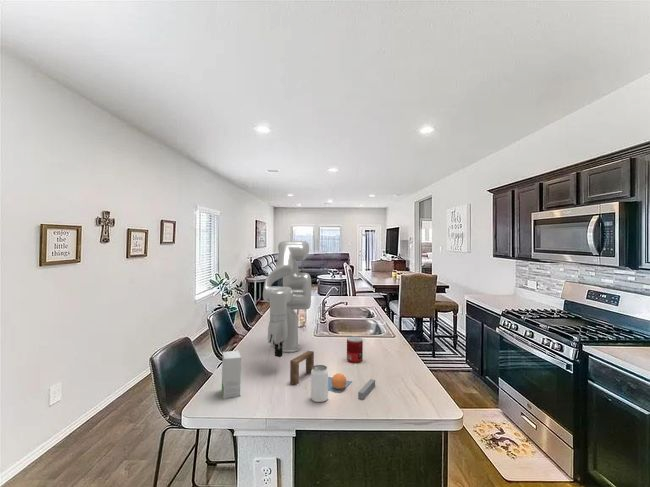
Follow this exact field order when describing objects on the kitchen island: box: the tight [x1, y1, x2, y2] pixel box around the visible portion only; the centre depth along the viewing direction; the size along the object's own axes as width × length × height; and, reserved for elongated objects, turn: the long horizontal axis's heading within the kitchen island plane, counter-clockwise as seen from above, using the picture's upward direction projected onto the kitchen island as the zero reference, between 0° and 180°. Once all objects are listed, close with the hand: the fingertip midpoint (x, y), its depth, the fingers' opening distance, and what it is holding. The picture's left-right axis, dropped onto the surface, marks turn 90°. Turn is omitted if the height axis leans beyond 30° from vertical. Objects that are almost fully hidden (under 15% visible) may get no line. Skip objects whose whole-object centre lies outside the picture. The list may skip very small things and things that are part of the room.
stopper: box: [357, 378, 376, 400], centre depth 136 cm, size 2×14×2 cm, turn 153°
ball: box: [332, 373, 347, 389], centre depth 139 cm, size 6×6×6 cm
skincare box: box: [221, 350, 242, 400], centre depth 135 cm, size 8×7×16 cm
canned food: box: [346, 336, 364, 364], centre depth 172 cm, size 8×8×11 cm
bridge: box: [289, 350, 315, 386], centre depth 150 cm, size 3×15×10 cm, turn 153°
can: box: [310, 364, 329, 403], centre depth 130 cm, size 6×6×12 cm
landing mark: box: [328, 376, 353, 394], centre depth 143 cm, size 12×12×1 cm
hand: (278, 356), depth 157 cm, fingers closed
